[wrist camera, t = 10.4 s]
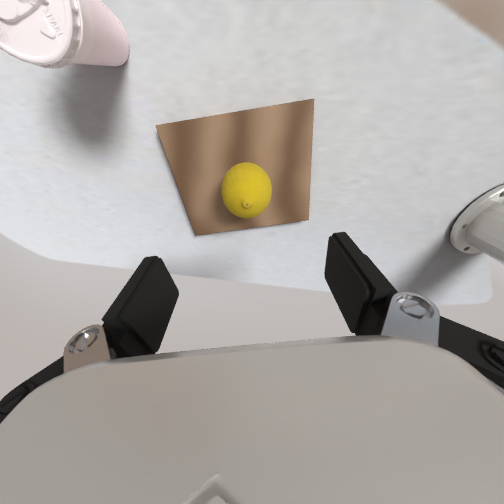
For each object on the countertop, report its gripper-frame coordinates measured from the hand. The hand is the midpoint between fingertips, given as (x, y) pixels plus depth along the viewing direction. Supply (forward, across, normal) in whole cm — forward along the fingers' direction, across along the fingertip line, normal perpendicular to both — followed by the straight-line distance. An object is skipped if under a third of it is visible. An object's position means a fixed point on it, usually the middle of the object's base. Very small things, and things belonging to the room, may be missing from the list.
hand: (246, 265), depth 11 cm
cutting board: (+18, 0, 0) cm, 18 cm away
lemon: (+17, 0, 0) cm, 17 cm away
